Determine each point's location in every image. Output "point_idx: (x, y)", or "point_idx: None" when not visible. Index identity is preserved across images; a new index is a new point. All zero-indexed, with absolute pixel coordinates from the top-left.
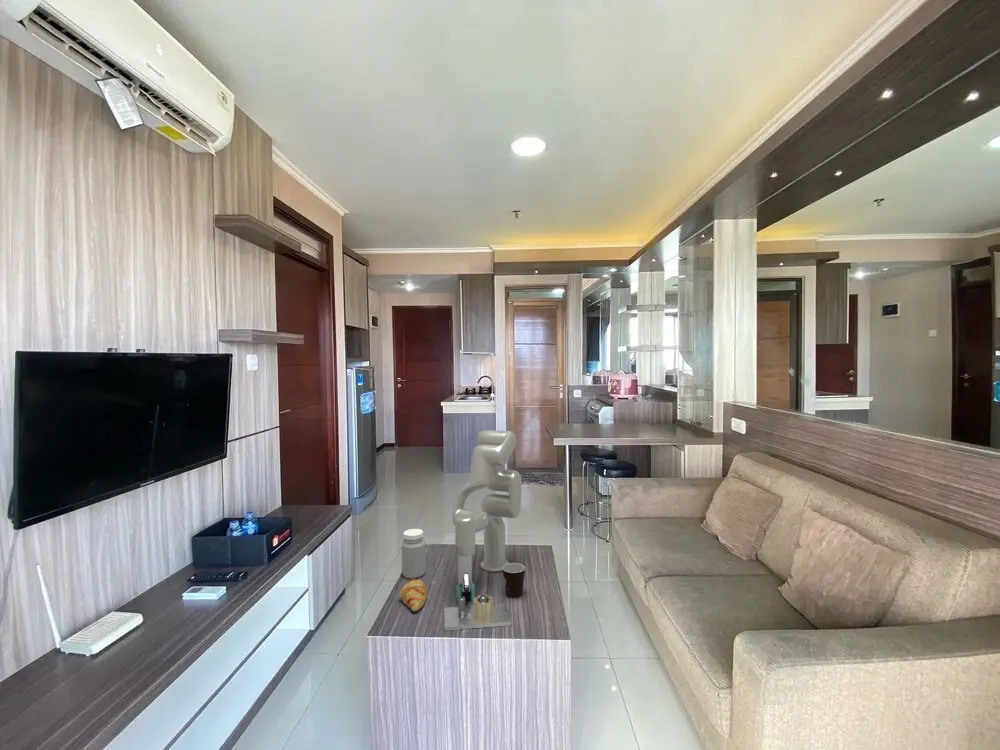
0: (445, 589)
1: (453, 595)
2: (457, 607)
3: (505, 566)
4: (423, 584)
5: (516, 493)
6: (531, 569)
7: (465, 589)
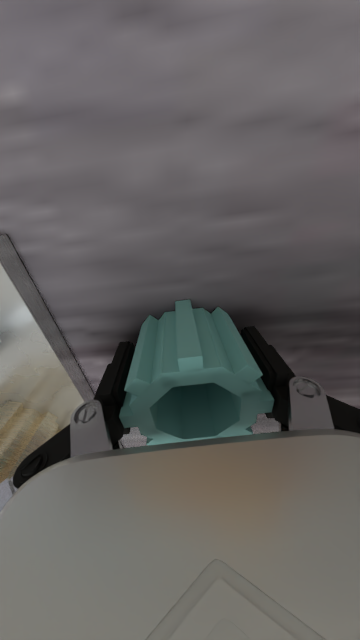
0: (340, 198)
1: (230, 275)
2: (32, 329)
3: None
4: None
5: None
6: None
7: (29, 464)
